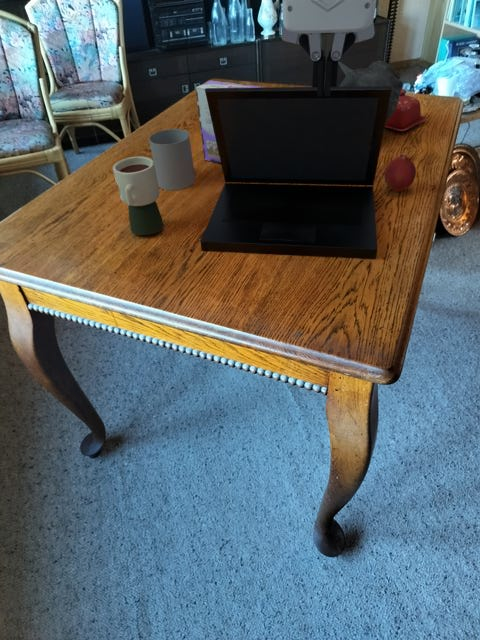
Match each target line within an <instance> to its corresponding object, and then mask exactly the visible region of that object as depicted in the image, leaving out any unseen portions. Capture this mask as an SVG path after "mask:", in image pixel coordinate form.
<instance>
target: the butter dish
mask: <svg viewBox="0 0 480 640" xmlns="http://www.w3.org/2000/svg"><path fill="white" fill-rule="evenodd" d="M406 93H407V90H406V89H405V88H402V91H401V94H400V97H399V100H398V104H397V106H396V108H395V110H394V111H393V114H392V115H391V116H390V117H389V119H388V120H387V121H386V123H385V128H384V129H388V128H389V129H388V130H392V129H393V130H392V131H396V132H402V133H403V132H406V131H409V130H410V129H411V128H413V127H415V126H416V125H418V124H421V123H423V122H424V121H425V120H427V116H424V115H422V112H421V102H420V100H419V99H418V98H416V97H413V96H410V95H406Z"/></svg>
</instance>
